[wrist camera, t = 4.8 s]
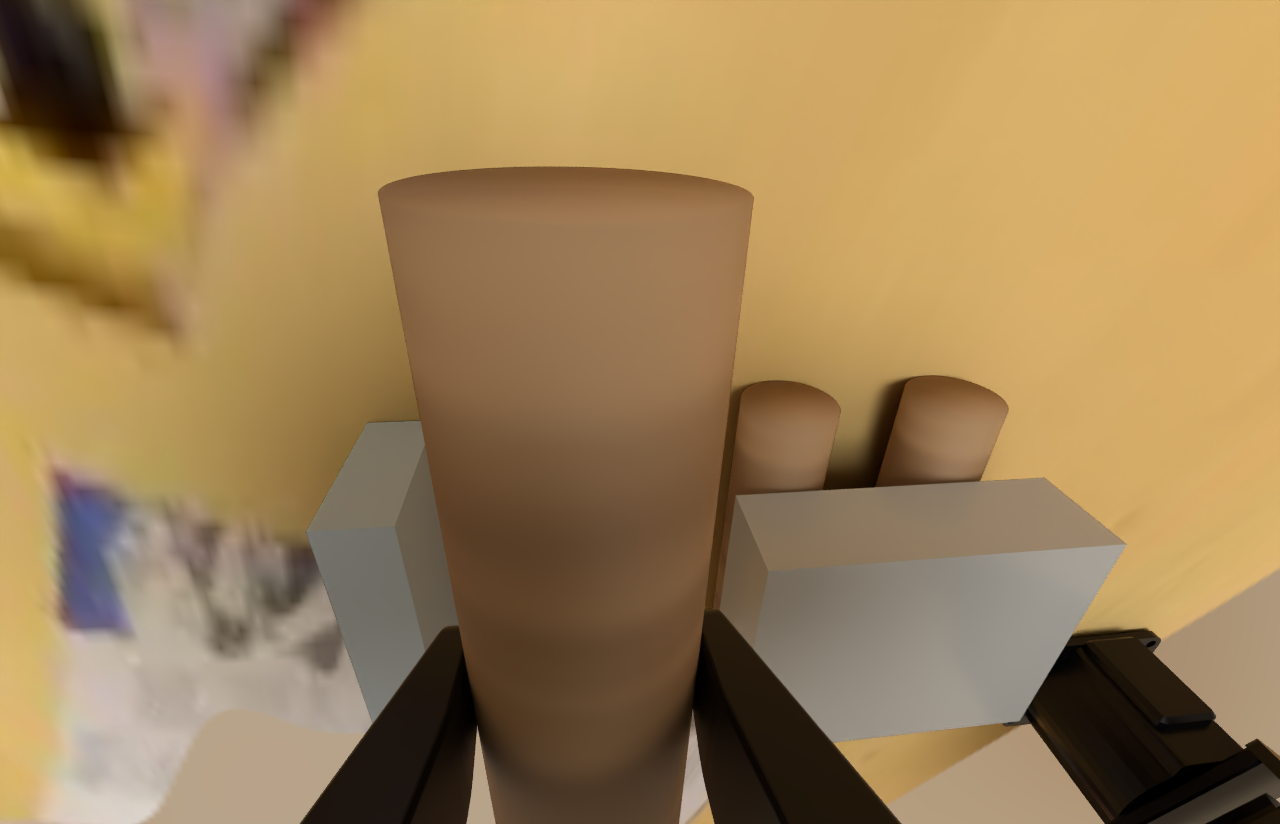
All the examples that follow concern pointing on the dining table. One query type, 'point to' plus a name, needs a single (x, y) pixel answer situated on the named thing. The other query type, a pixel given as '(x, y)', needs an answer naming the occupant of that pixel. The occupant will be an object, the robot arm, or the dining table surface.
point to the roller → (574, 460)
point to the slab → (913, 598)
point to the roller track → (806, 426)
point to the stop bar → (384, 557)
